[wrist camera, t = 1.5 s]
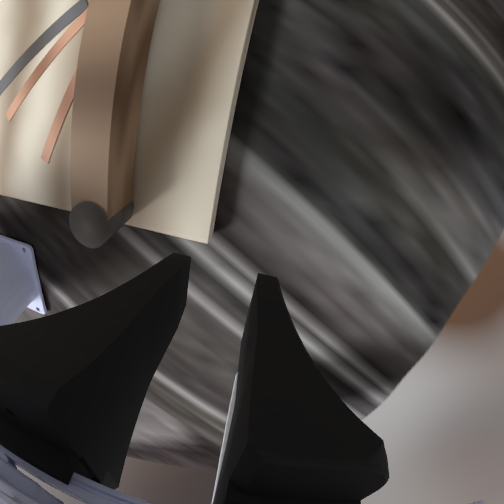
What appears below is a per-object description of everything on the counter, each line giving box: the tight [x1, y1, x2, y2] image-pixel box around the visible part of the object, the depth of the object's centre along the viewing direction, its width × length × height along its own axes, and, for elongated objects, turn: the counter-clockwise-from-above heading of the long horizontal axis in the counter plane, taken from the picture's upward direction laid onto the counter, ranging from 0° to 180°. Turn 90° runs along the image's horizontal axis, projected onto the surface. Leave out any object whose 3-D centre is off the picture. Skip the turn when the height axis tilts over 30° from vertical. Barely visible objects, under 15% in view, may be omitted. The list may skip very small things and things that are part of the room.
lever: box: [69, 0, 160, 248], centre depth 12 cm, size 19×4×3 cm, turn 169°
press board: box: [0, 0, 259, 244], centre depth 15 cm, size 20×20×2 cm
